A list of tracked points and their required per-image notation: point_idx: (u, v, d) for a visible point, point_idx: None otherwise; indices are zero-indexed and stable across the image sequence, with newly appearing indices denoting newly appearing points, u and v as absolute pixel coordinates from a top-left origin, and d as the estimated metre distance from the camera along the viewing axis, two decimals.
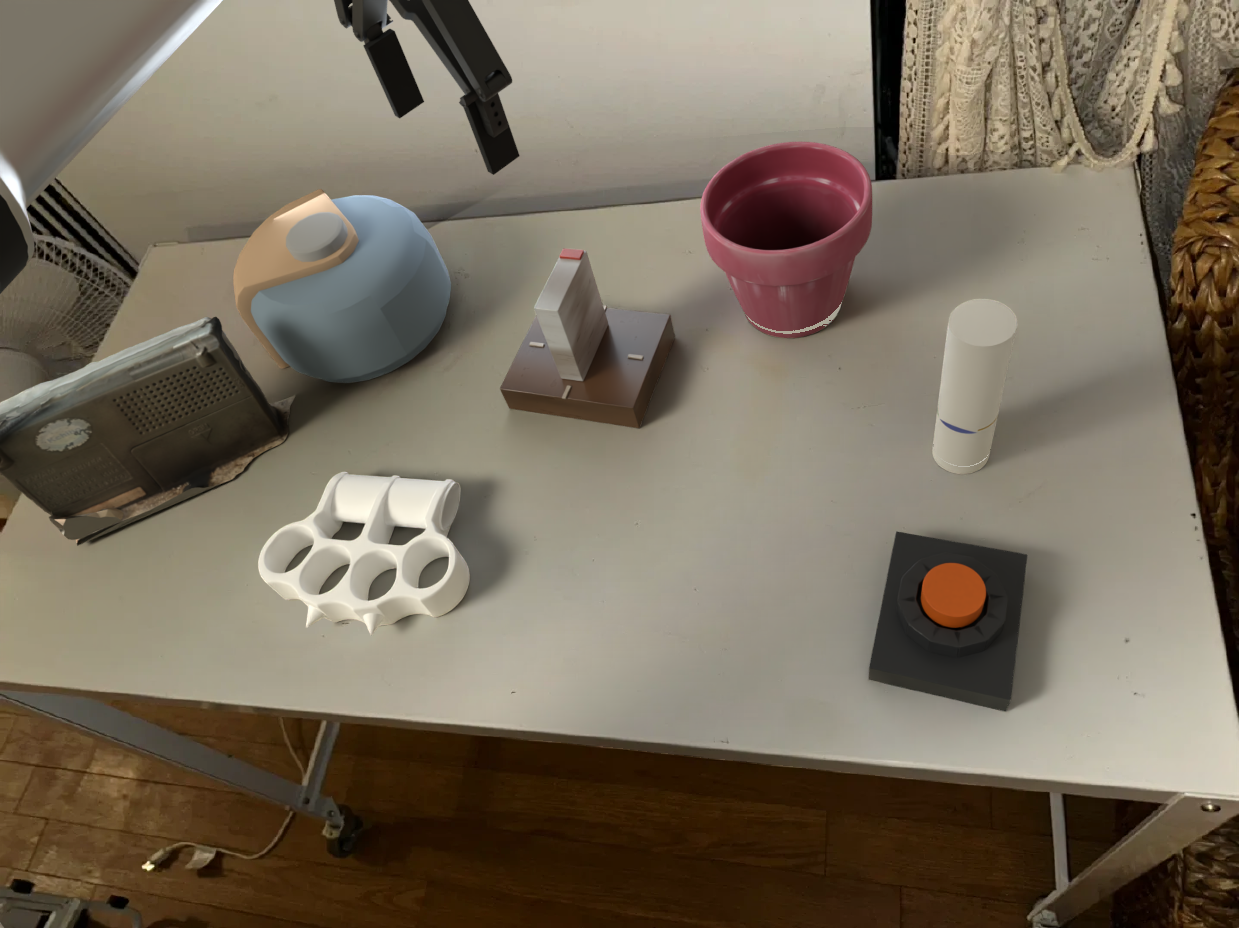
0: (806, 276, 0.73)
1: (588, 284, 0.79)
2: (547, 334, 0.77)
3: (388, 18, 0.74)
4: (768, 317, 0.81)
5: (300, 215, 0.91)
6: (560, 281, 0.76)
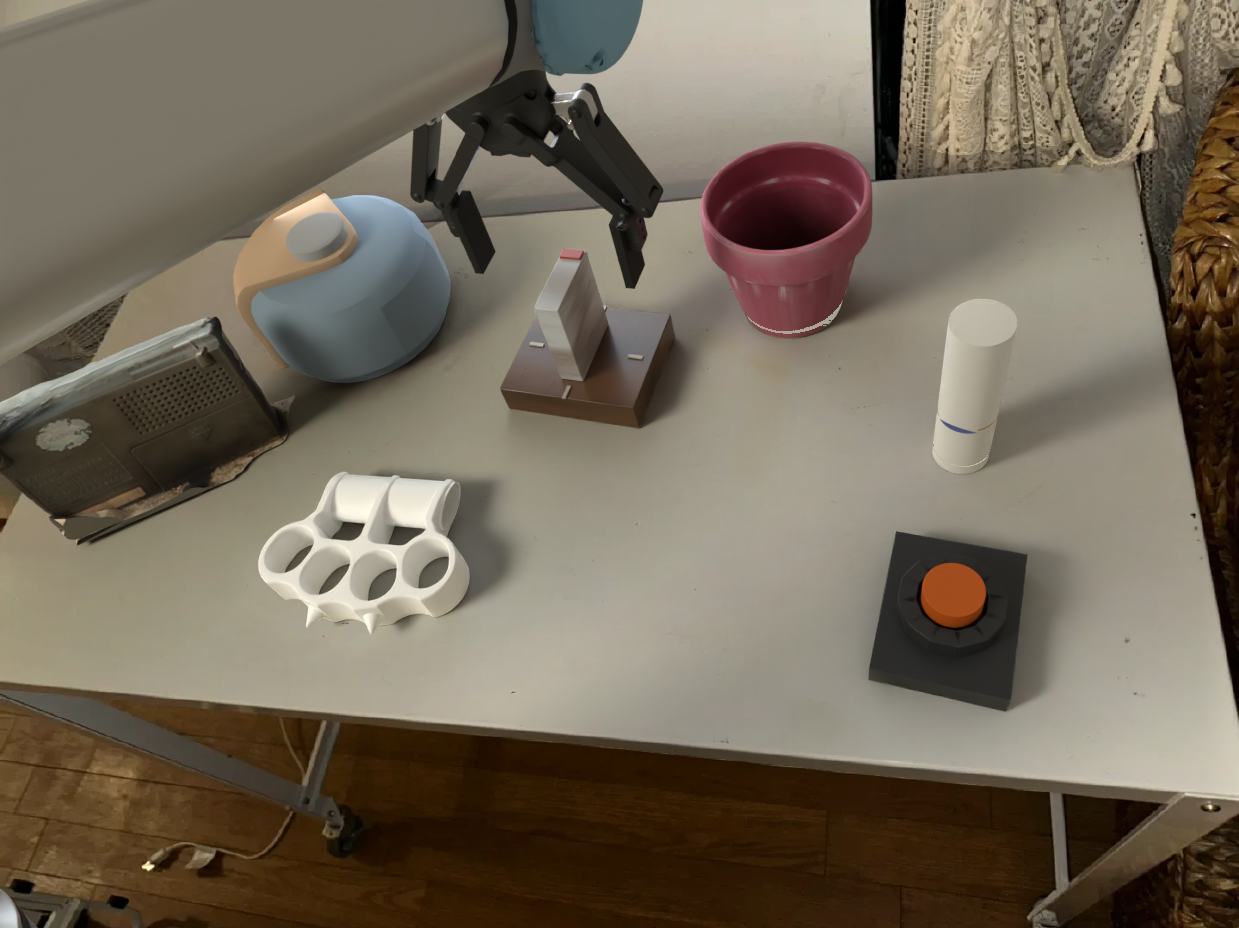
0: (806, 276, 0.73)
1: (588, 284, 0.79)
2: (547, 334, 0.77)
3: None
4: (768, 317, 0.81)
5: (300, 215, 0.91)
6: (560, 281, 0.76)
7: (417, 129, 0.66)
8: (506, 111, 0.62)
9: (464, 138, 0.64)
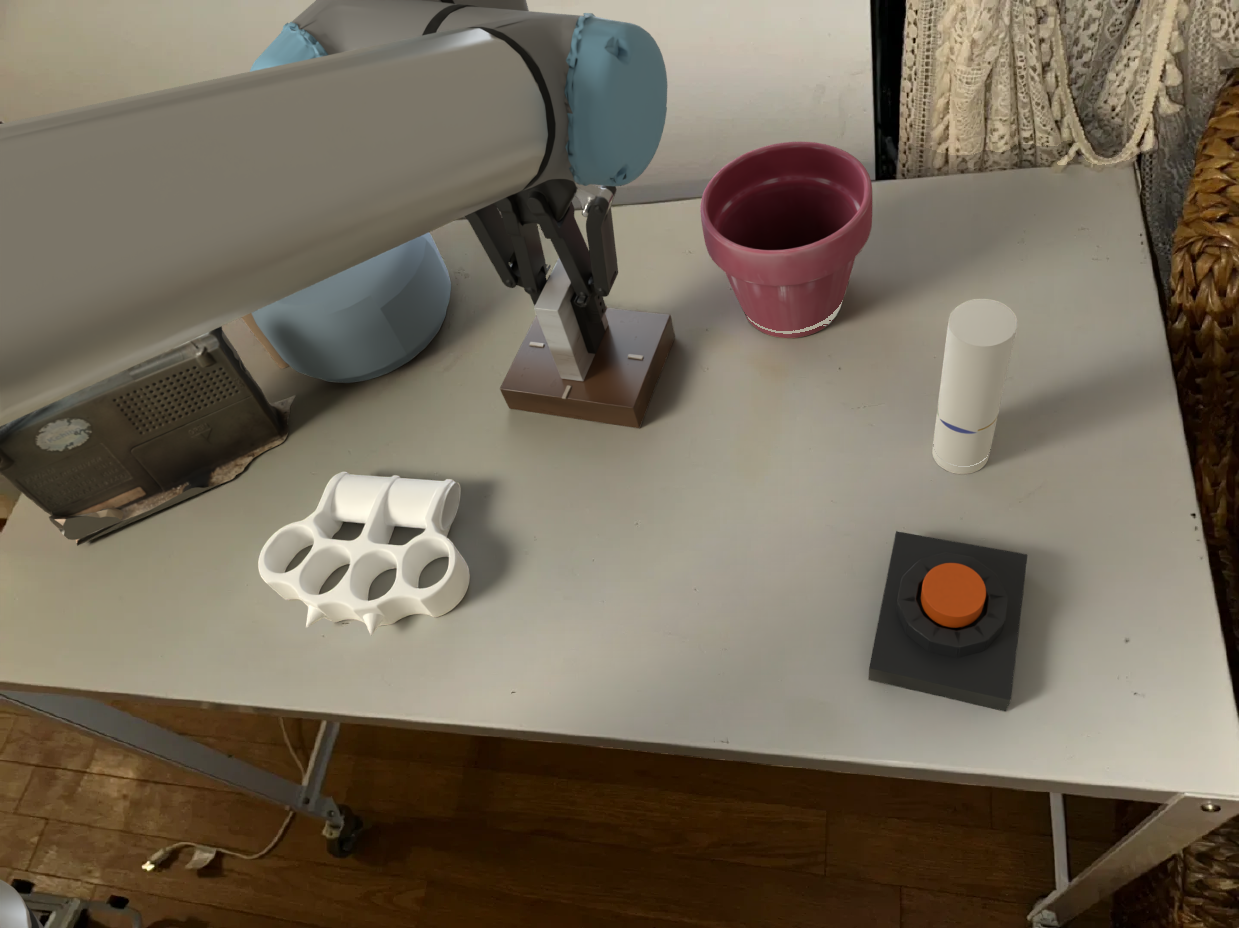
0: (806, 276, 0.73)
1: None
2: (547, 334, 0.77)
3: (545, 265, 0.78)
4: (768, 317, 0.81)
5: None
6: (560, 281, 0.76)
7: (470, 218, 0.72)
8: (531, 186, 0.67)
9: (503, 216, 0.69)
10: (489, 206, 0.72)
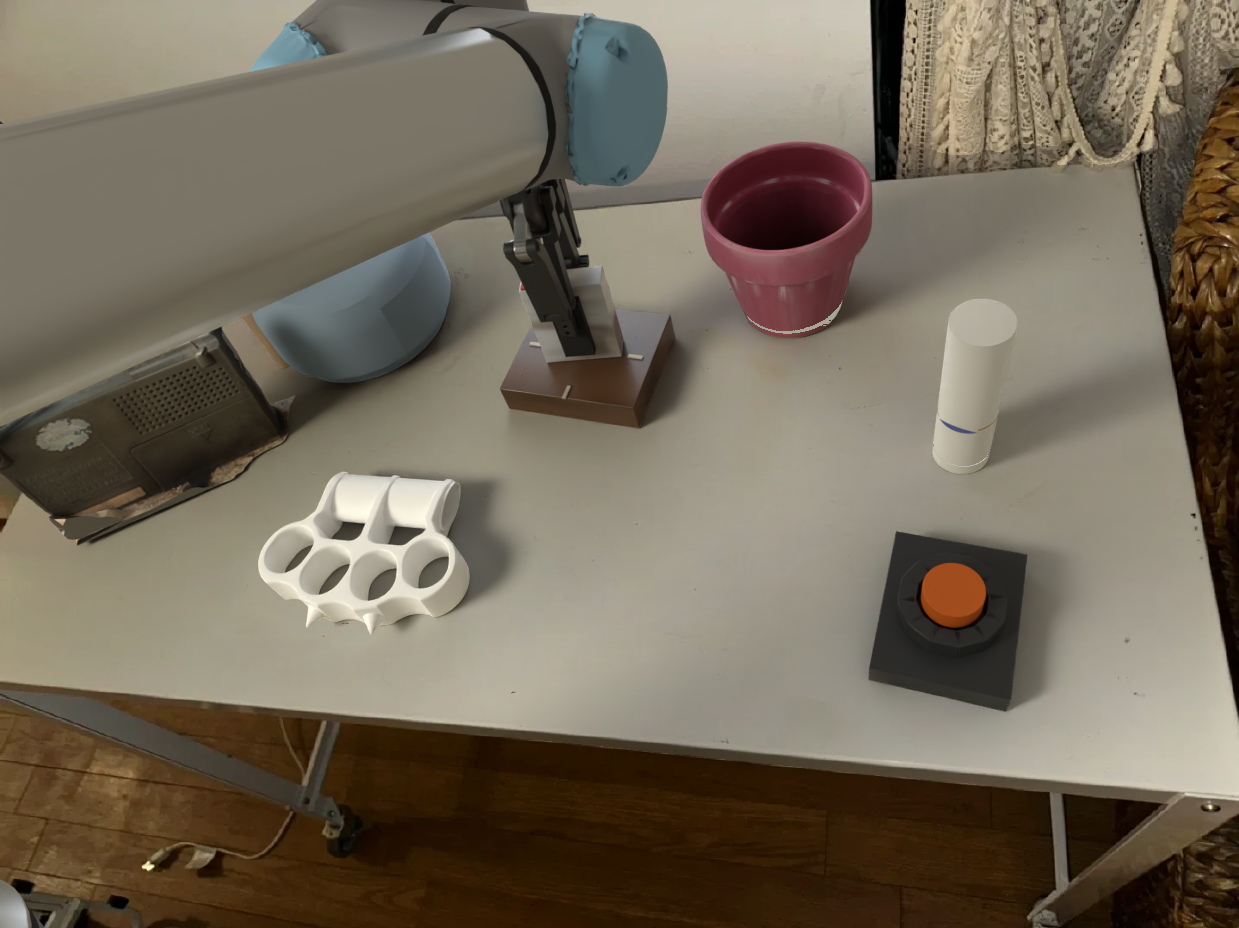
0: (806, 276, 0.73)
1: None
2: (608, 307, 0.77)
3: None
4: (768, 317, 0.81)
5: None
6: None
7: (545, 259, 0.67)
8: None
9: (553, 217, 0.68)
10: None
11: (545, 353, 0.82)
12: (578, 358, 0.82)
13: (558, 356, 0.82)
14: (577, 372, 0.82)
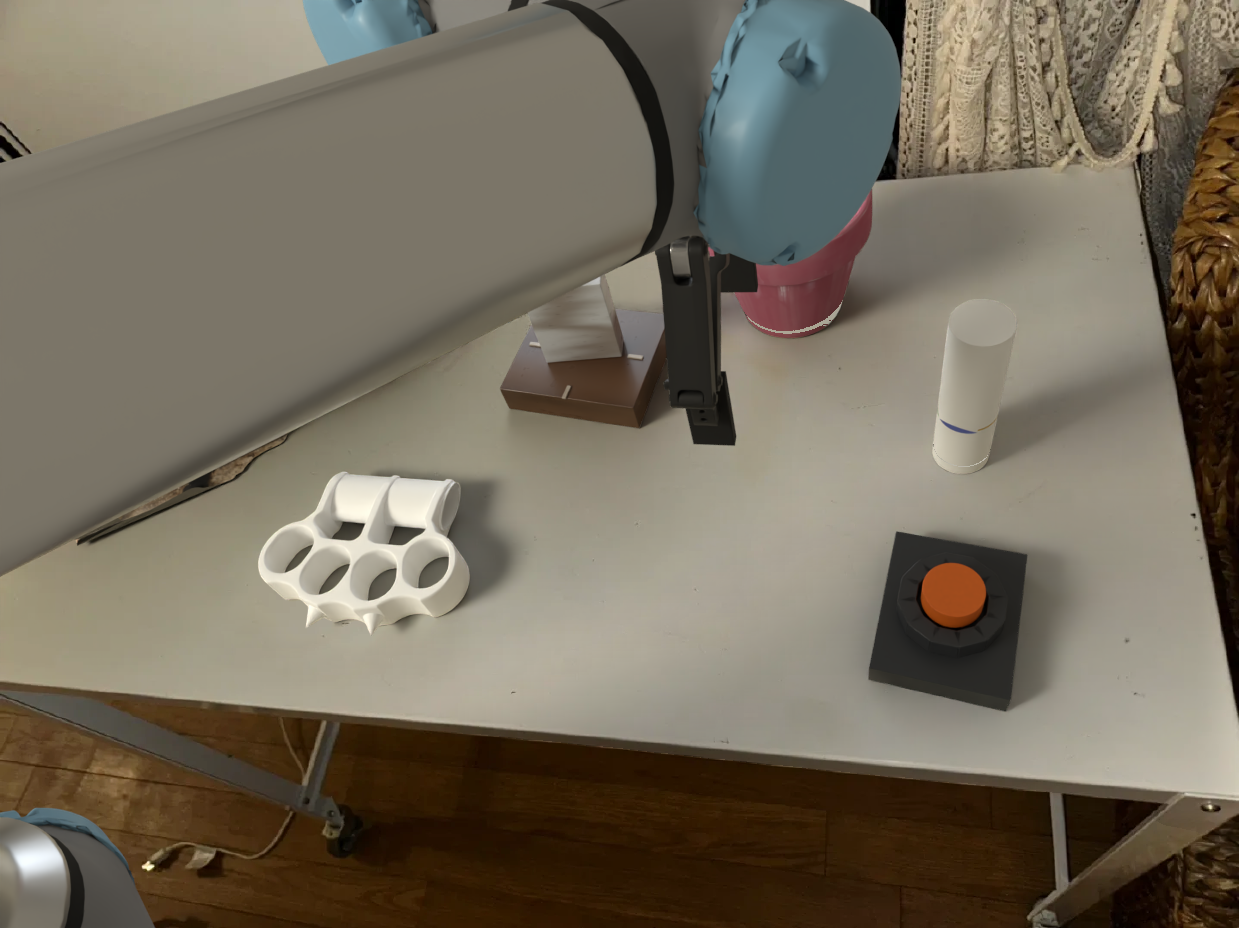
0: (806, 276, 0.73)
1: None
2: (608, 307, 0.77)
3: None
4: (768, 317, 0.81)
5: None
6: None
7: (707, 280, 0.48)
8: None
9: None
10: None
11: (545, 353, 0.82)
12: (578, 358, 0.82)
13: (558, 356, 0.82)
14: (577, 372, 0.82)
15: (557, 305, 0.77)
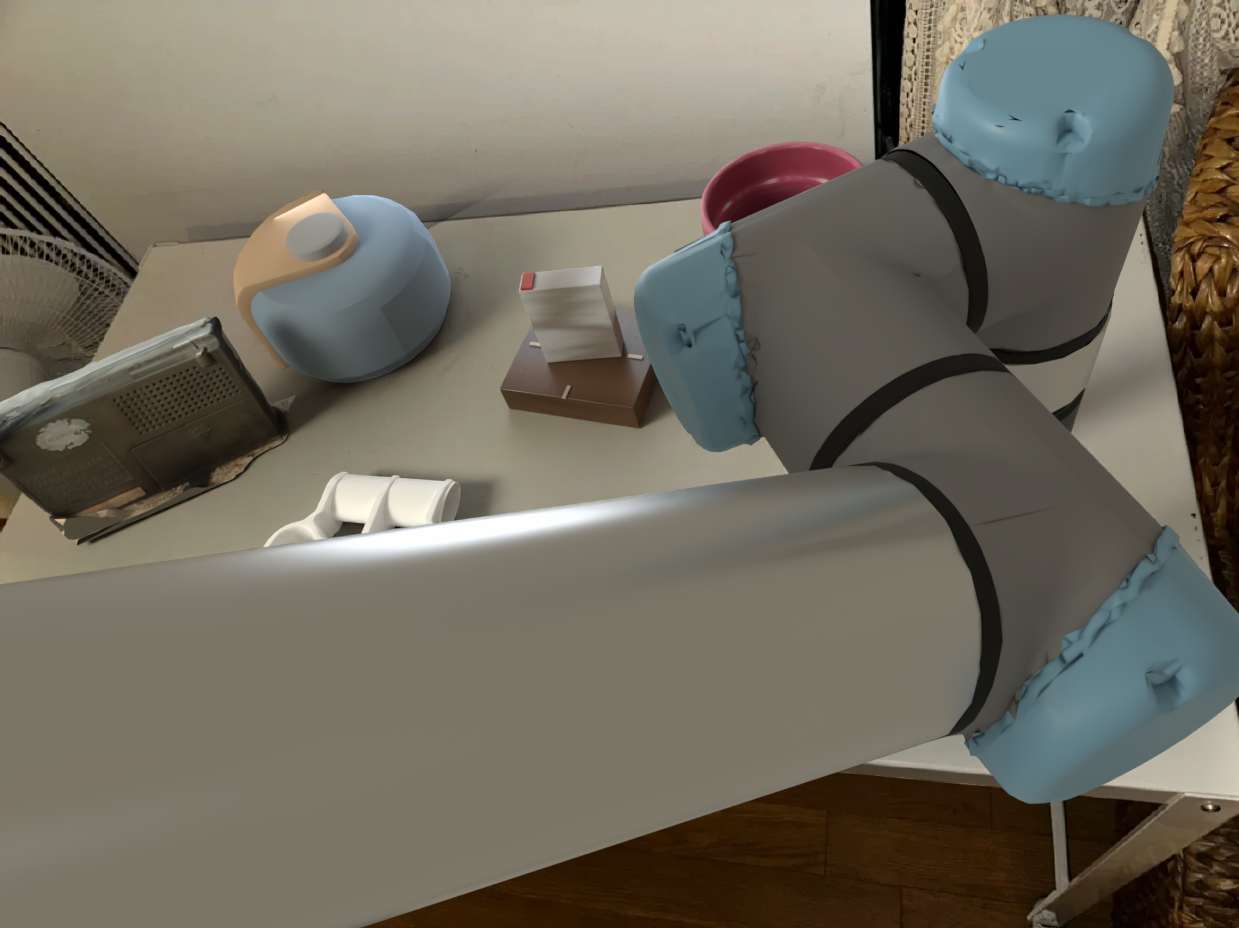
0: None
1: None
2: (608, 307, 0.77)
3: None
4: None
5: (301, 215, 0.90)
6: (564, 277, 0.76)
7: None
8: None
9: None
10: None
11: (545, 353, 0.82)
12: (578, 358, 0.82)
13: (558, 356, 0.82)
14: (577, 372, 0.82)
15: (557, 305, 0.77)
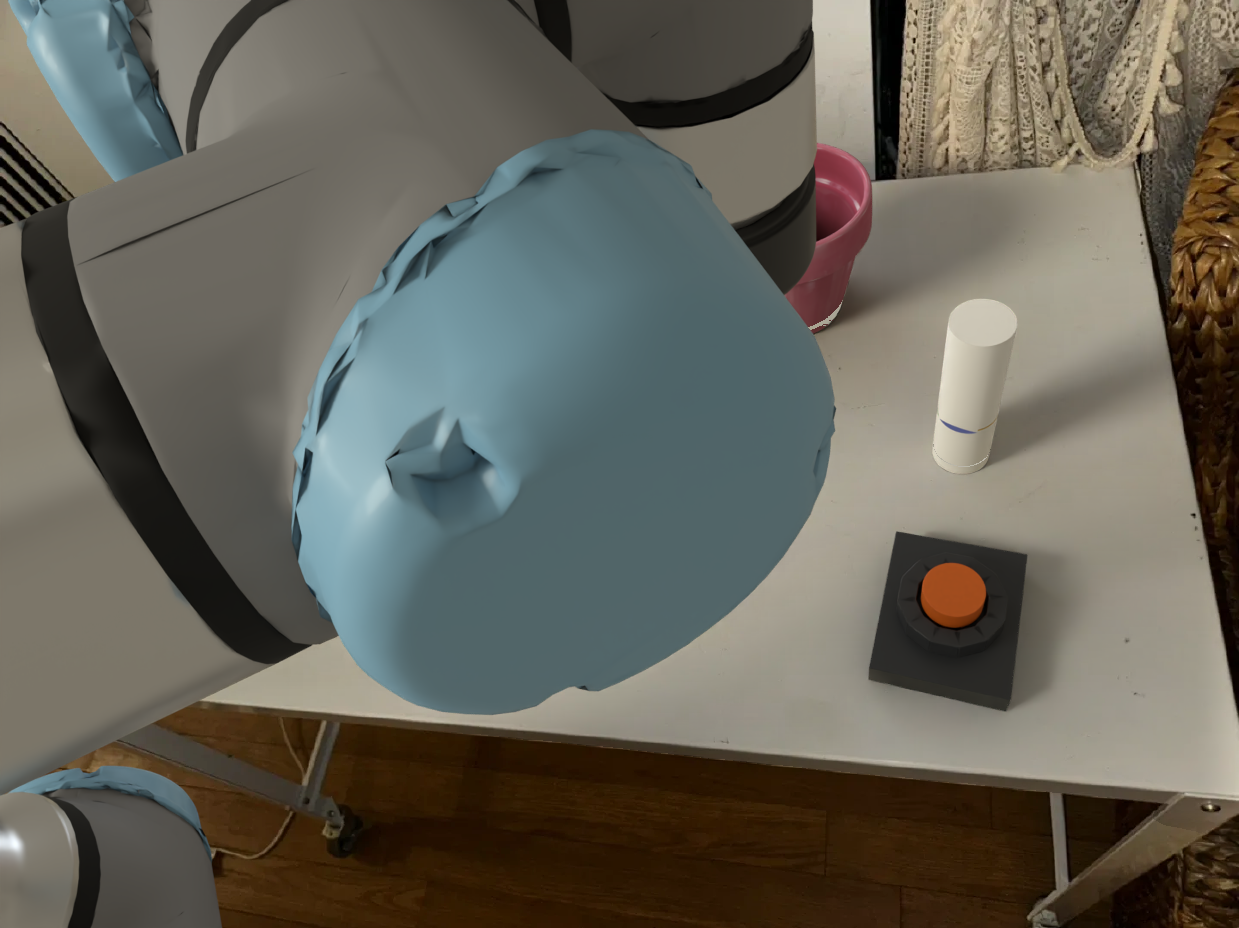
0: (806, 276, 0.73)
1: None
2: None
3: None
4: None
5: None
6: None
7: None
8: None
9: None
10: None
11: None
12: None
13: None
14: None
15: None
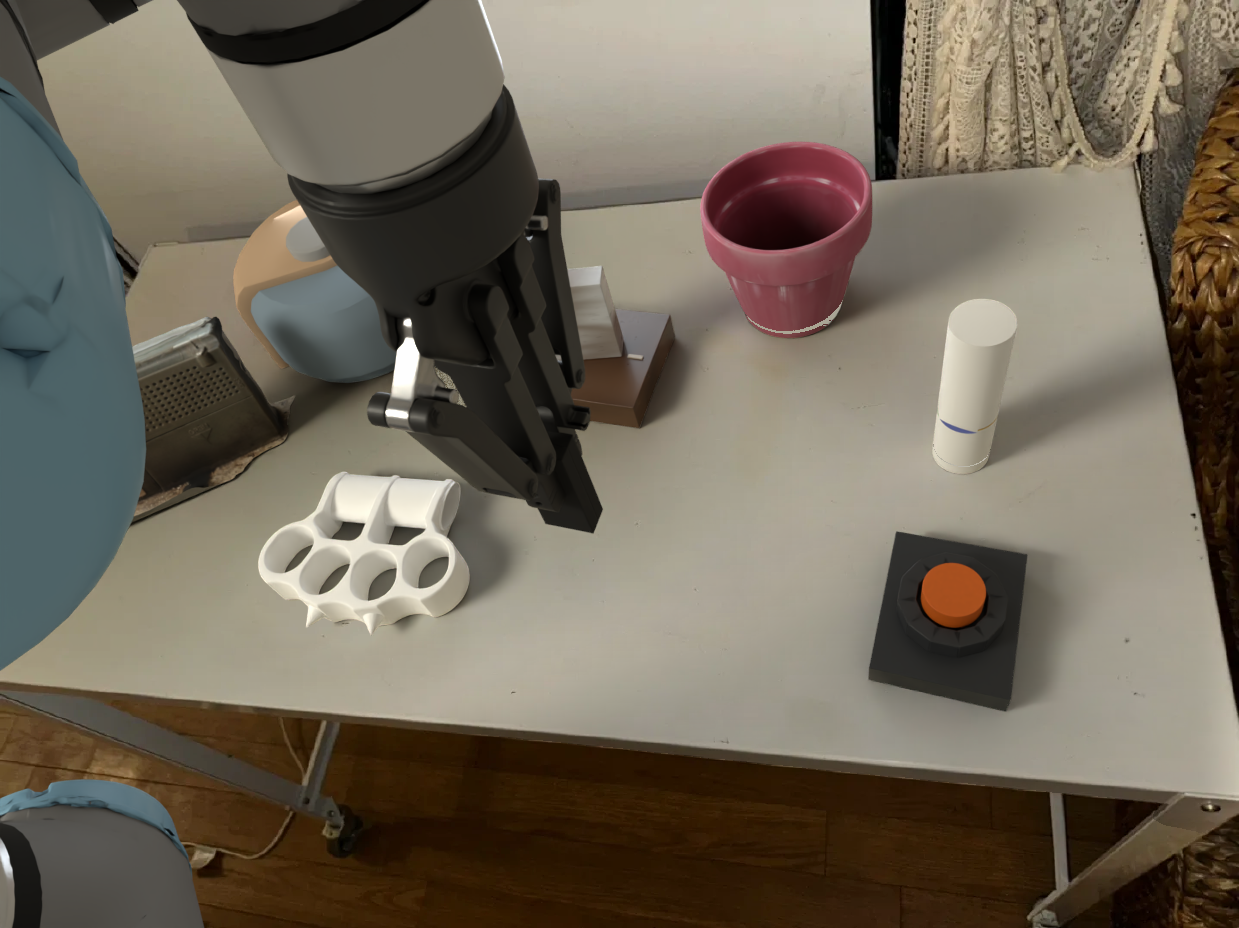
0: (806, 276, 0.73)
1: None
2: (608, 307, 0.77)
3: None
4: (768, 317, 0.81)
5: (301, 215, 0.90)
6: None
7: (461, 429, 0.33)
8: None
9: (498, 343, 0.33)
10: None
11: None
12: None
13: (558, 356, 0.82)
14: None
15: None
